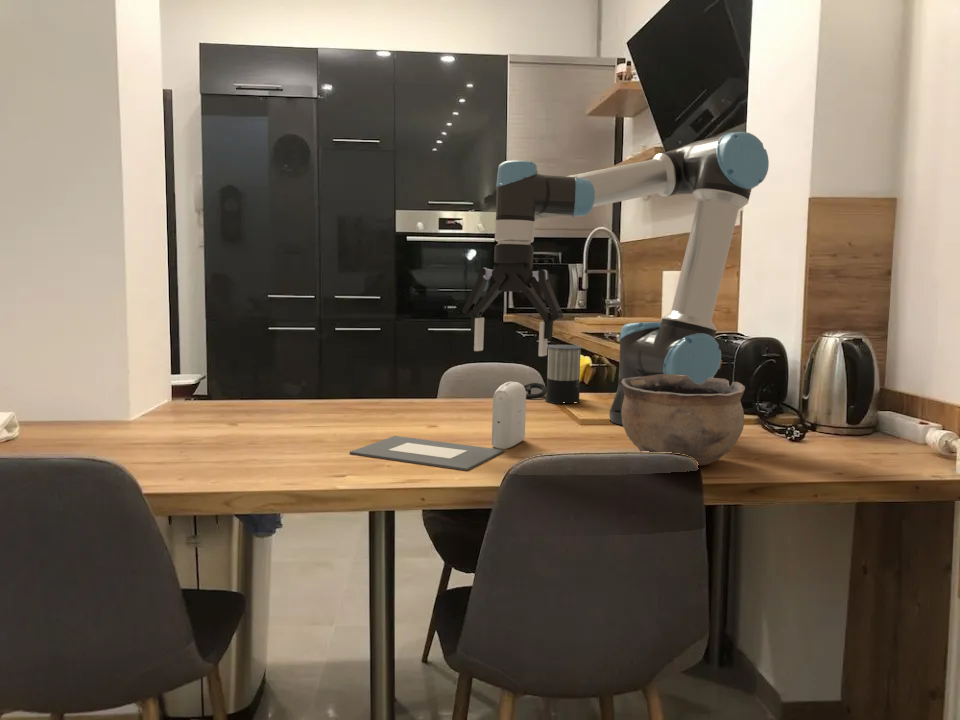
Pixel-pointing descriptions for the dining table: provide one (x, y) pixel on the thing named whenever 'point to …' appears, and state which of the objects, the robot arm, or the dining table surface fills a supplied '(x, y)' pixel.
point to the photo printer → (508, 415)
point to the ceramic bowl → (683, 415)
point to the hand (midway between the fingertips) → (510, 353)
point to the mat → (428, 452)
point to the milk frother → (560, 375)
